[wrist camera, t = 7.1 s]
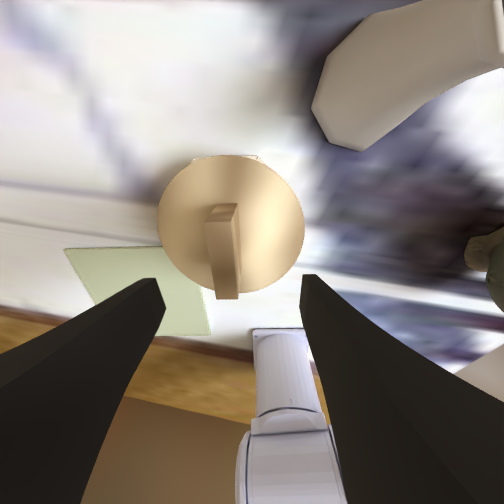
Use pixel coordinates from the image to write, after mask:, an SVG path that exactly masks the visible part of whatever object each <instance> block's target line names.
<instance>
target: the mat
mask: <svg viewBox="0 0 504 504" xmlns="http://www.w3.org/2000/svg"><path fill="white" fill-rule="evenodd" d="M63 251H64V253H65V254H66V256H67V258H68V259H69V261H70V263H71V264H72V266H73V268H74V269H75V271H76V273H77V274H78V276H79V278H80V279H81V281H82V283H83V284H84V286H85V288H86V289H87V291H88V293H89V294H90V296H91V298H92V299H93V301H94V303H95V305H97V304H99V303H100V302H102V301H104V300H105V299H107V298H109V297H111V296H112V295H114V294H116V293H117V292H119V291H121V290H122V289H124V288H126V287H127V286H129V285H131V284H133V283H135V282H136V281H138V280H140V279H142V278H156V280H157V283H158V286H159V288H160V291H161V294H162V297H163V300H164V302H165V305H166V308H167V309H166V311H165V314H164V317H163V319H162V322H161V324H160V327H159V329H158V331H157V333H156V334H155V336H210V335H211V331H210V326H209V322H208V317H207V312H206V308H205V303H204V299H203V294H202V289H201V285H199V284H197V283H195V282H194V281H192V280H190V279H189V278H188V277H186V276H185V275H184V274H183V273H181V272H180V271H179V270H178V269H177V268H176V266H175V265H174V264H173V263H172V262H171V260H170V259H169V257H168V256H167V254H166V252H165V250H164V248H163V246H161V247H119V248H77V249H65V250H63Z"/></svg>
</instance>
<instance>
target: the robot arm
mask: <svg viewBox="0 0 504 504" xmlns="http://www.w3.org/2000/svg"><path fill="white" fill-rule="evenodd" d="M299 308H300V313H301V318H302V323H303V327H304V329H256V330H253V332H252V335H253V354H254V370H255V371H256V419H251V431H247V432H246V433H245V435H244V437H243V439H242V441H241V443H240V445H239V450H238V455H237V462H236V475H235V476H236V477H235V498H236V504H504V402H502V401H500V400H498V399H497V398H495V397H493V396H491V395H489V394H487V393H485V392H484V391H482V390H480V389H478V388H476V387H474V386H473V385H471V384H469V383H468V382H466V381H464V380H462V379H461V378H459V377H457V376H455V375H454V374H452V373H450V372H448V371H447V370H445V369H443V368H442V367H440V366H438V365H437V364H435V363H434V362H432V361H430V360H429V359H427V358H425V357H424V356H422V355H420V354H419V353H417V352H416V351H414V350H412V349H411V348H409V347H408V346H406V345H405V344H403V343H402V342H400V341H399V340H397V339H396V338H394V337H393V336H391V335H390V334H388V333H387V332H386V331H384V330H383V329H381V328H380V327H379V326H377V325H376V324H374V323H373V322H372V321H370V320H369V319H368V318H367V317H365V316H364V315H363V314H361V313H360V312H359V311H358V310H356V309H355V308H354V307H353V306H351V305H350V304H349V303H348V302H347V301H345V300H344V299H343V298H342V297H341V296H340V295H338V294H337V293H336V292H335V291H334V290H333V289H332V288H331V287H329V286H328V285H327V284H326V283H325V282H324V281H323V280H322V279H321V278H319V277H318V276H317V275H316V274H303V277H302V286H301V295H300V304H299ZM166 309H167V308H166V305H165V302H164V300H163V297H162V294H161V291H160V288H159V286H158V283H157V280H156V278H142V279H140V280H138V281H136V282H135V283H133V284H131V285H129V286H127V287H126V288H124V289H122V290H121V291H119V292H117V293H116V294H114V295H112V296H111V297H109V298H107V299H105V300H104V301H102V302H100V303H99V304H97V305H95V306H94V307H92V308H90V309H88V310H86V311H85V312H83V313H81V314H79V315H78V316H76V317H74V318H72V319H70V320H69V321H67V322H65V323H63V324H61V325H59V326H58V327H56V328H54V329H52V330H50V331H48V332H46V333H44V334H42V335H40V336H38V337H36V338H34V339H32V340H30V341H28V342H26V343H24V344H22V345H20V346H18V347H15V348H13V349H11V350H9V351H7V352H4V353H2V354H0V504H80V503H81V500H82V497H83V494H84V491H85V488H86V485H87V483H88V480H89V478H90V475H91V472H92V469H93V467H94V465H95V462H96V459H97V457H98V454H99V451H100V449H101V446H102V444H103V441H104V439H105V437H106V434H107V431H108V429H109V427H110V424H111V422H112V420H113V417H114V415H115V412H116V410H117V408H118V406H119V404H120V401H121V399H122V397H123V395H124V392H125V390H126V388H127V386H128V384H129V382H130V380H131V378H132V376H133V374H134V372H135V371H136V369H137V367H138V365H139V363H140V362H141V360H142V358H143V356H144V354H145V353H146V351H147V349H148V347H149V345H150V344H151V342H152V340H153V338H154V336H155V334H156V333H157V331H158V329H159V327H160V324H161V322H162V319H163V317H164V314H165V311H166ZM308 346H310V349H311V352H312V355H313V358H314V361H315V364H316V367H317V370H318V373H319V377H320V380H321V384H322V387H323V391H324V395H325V400H326V404H327V408H328V412H329V417H330V421H331V424H330V425H328V428H329V432H328V428H327V424H326V420H325V416H324V413H322V410H321V406H320V403H319V399H318V395H317V391H316V387H315V383H314V379H313V375H312V371H311V367H310V363H309V359H308V355H307V352H308ZM329 433H330V435H329Z"/></svg>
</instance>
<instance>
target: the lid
mask: <svg viewBox="0 0 504 504" xmlns="http://www.w3.org/2000/svg"><path fill="white" fill-rule="evenodd" d="M157 226H158V233H159V237H160V241H161V243H162V246H163V248H164V250H165V252H166V254H167V256H168V257H169V259H170V260H171V262H172V263H173V264H174V265H175V266H176V268H177V269H178V270H179V271H180V272H181V273H183V274H184V275H185V276H186V277H188V278H189V279H190V280H192V281H194V282H195V283H197V284H199V285H201V286H203V287H205V288H208V289H211V290H214V291H215V294H216V299H238V295H239V293H247V292H253V291H256V290H260V289H262V288H265V287H267V286H269V285H271V284H273V283H275V282H276V281H277V280H279V279H280V278H281V277H283V276H284V275H285V274H286V273H287V272H288V271H289V270H290V268H291V267H292V266H293V264H294V263H295V261H296V260H297V258H298V256H299V254H300V251H301V248H302V245H303V240H304V232H305V225H304V216H303V212H302V208H301V206H300V203H299V201H298V198H297V197H296V195H295V193H294V192H293V190H292V189H291V187H290V186H289V185H288V184H287V182H286V181H285V180H284V179H283V178H282V177H281V176H280V175H278V174H277V173H276V172H275V171H274V170H272V169H271V168H269V167H268V166H266V165H264V164H262V163H260V162H258V161H256V160H253V159H250V158H247V157H242V156H235V155H221V156H212V157H208V158H205V159H201V160H199V161H196V162H194V163H192V164H190V165H189V166H187V167H185V168H184V169H182V170H181V171H180V172H179V173H178V174H177V175H176V176H175V177H174V178H173V179H172V180H171V181H170V183H169V184H168V185H167V187H166V189H165V191H164V192H163V195H162V197H161V200H160V203H159V208H158V214H157Z"/></svg>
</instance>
